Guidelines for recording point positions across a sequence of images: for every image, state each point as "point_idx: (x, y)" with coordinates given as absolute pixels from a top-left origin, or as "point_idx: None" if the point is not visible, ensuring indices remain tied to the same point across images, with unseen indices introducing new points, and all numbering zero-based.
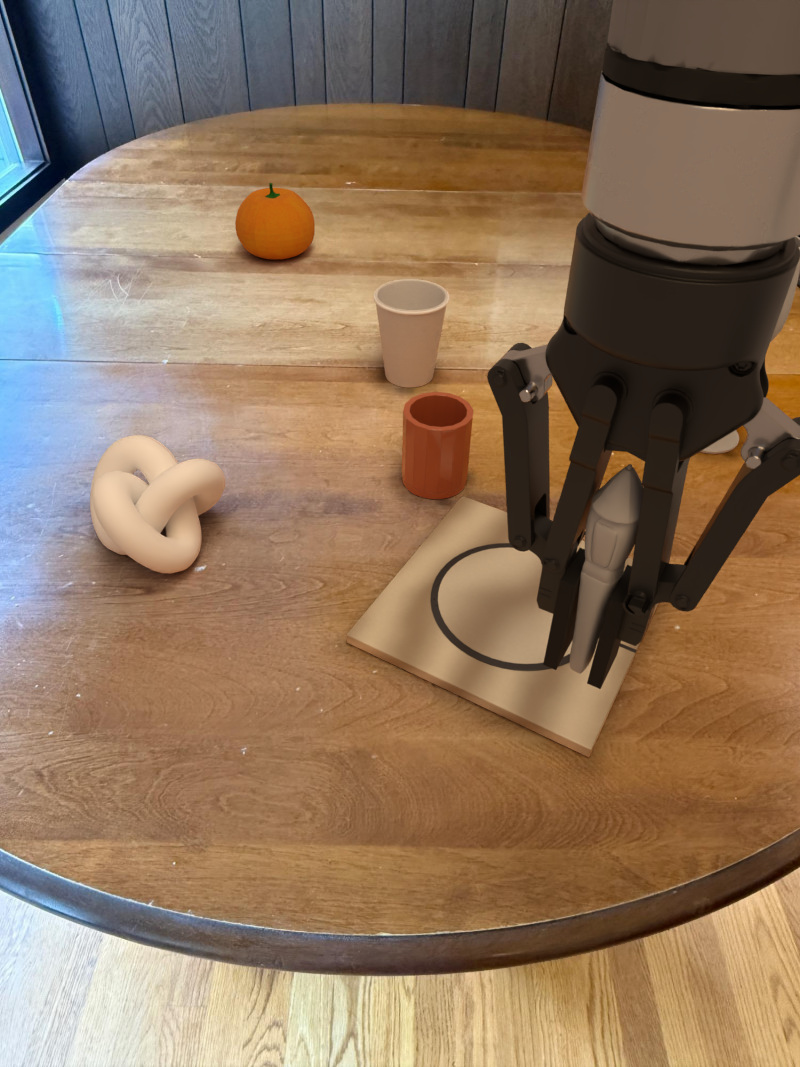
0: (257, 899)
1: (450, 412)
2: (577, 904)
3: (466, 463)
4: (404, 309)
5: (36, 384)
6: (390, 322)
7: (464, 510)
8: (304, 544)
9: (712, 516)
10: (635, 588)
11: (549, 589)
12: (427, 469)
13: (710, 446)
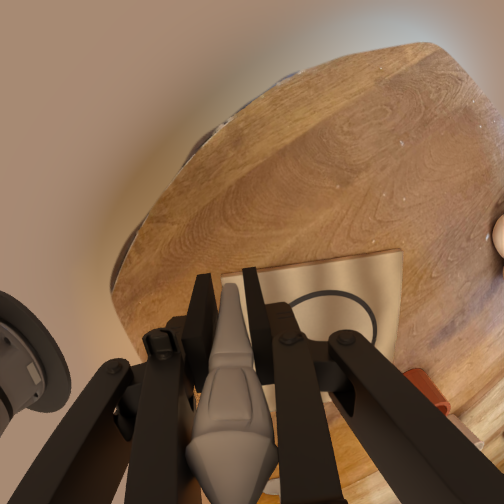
0: (332, 73)
1: None
2: (177, 183)
3: None
4: None
5: None
6: (470, 439)
7: None
8: (453, 293)
9: (117, 479)
10: (171, 360)
11: (281, 319)
12: (417, 385)
13: (272, 482)
